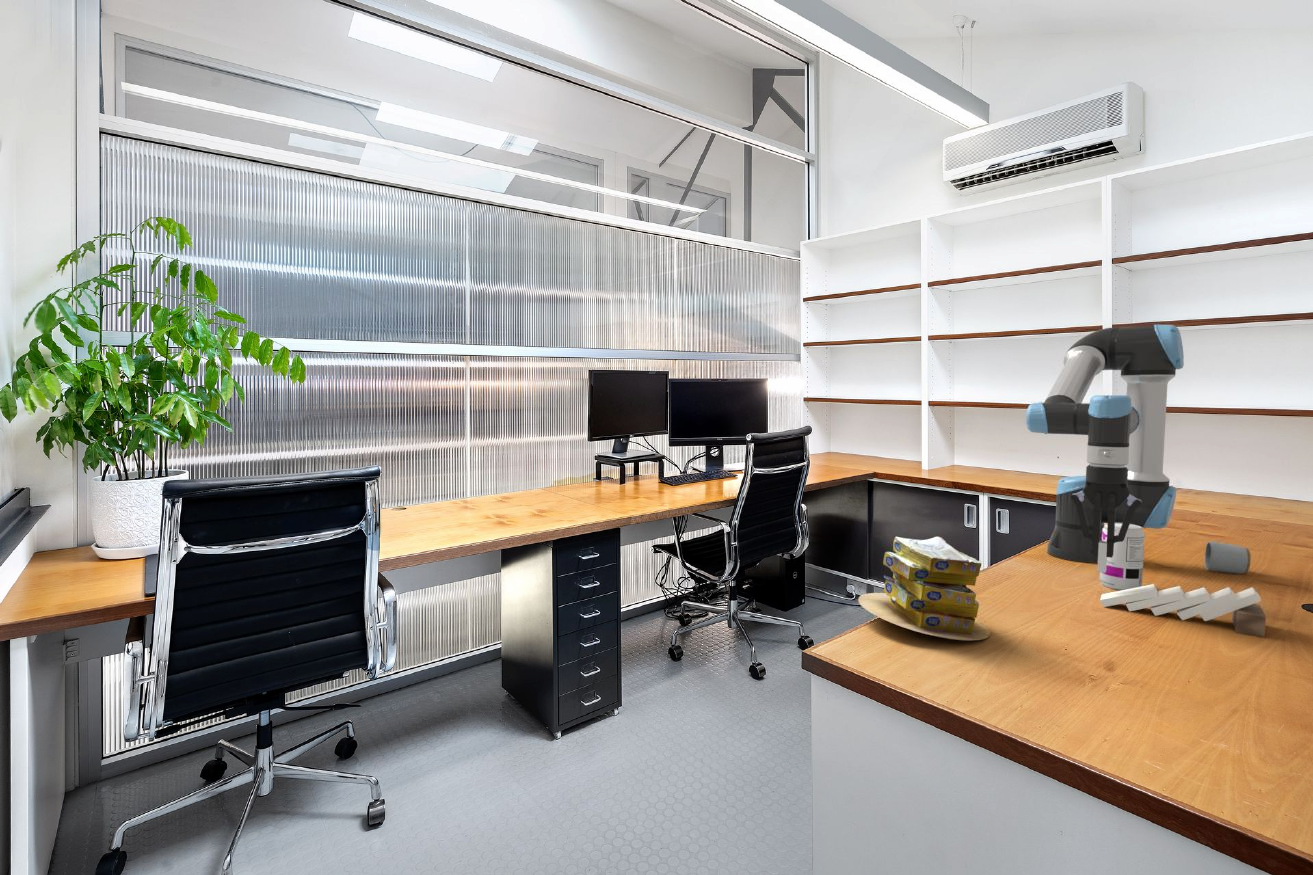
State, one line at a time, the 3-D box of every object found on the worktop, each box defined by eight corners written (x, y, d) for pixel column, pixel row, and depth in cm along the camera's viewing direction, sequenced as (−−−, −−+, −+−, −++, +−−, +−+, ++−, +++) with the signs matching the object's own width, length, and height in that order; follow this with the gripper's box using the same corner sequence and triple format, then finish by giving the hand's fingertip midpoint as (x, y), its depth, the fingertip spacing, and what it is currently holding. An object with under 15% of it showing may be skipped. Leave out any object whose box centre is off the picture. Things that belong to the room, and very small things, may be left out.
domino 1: (1100, 599, 139) (1153, 589, 133) (1101, 594, 143) (1154, 583, 137) (1103, 606, 139) (1157, 596, 133) (1105, 601, 143) (1157, 591, 137)
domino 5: (1199, 614, 129) (1255, 593, 124) (1198, 607, 133) (1252, 587, 128) (1205, 621, 129) (1261, 600, 123) (1203, 614, 132) (1258, 594, 127)
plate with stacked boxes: (963, 605, 140) (965, 531, 139) (1012, 650, 116) (1015, 560, 114) (848, 601, 143) (850, 528, 142) (872, 644, 119) (874, 556, 118)
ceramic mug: (1251, 577, 161) (1253, 547, 161) (1209, 573, 165) (1211, 543, 165) (1239, 568, 170) (1241, 540, 170) (1200, 564, 174) (1201, 536, 174)
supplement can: (1102, 588, 152) (1105, 527, 151) (1097, 579, 159) (1100, 520, 158) (1144, 593, 148) (1148, 530, 147) (1137, 584, 156) (1140, 524, 154)
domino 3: (1150, 608, 134) (1205, 593, 128) (1150, 602, 138) (1204, 587, 132) (1155, 615, 133) (1210, 600, 128) (1155, 609, 137) (1209, 594, 132)
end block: (1236, 632, 124) (1237, 612, 124) (1232, 619, 131) (1233, 600, 131) (1264, 637, 122) (1265, 616, 121) (1258, 623, 129) (1260, 604, 128)
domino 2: (1125, 604, 137) (1180, 591, 131) (1126, 598, 140) (1179, 585, 135) (1129, 611, 136) (1184, 599, 130) (1130, 605, 140) (1183, 592, 134)
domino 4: (1176, 613, 131) (1230, 592, 126) (1176, 606, 135) (1228, 586, 130) (1182, 620, 131) (1236, 600, 125) (1182, 613, 135) (1234, 593, 129)
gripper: (1069, 464, 140) (1065, 569, 142) (1144, 469, 132) (1138, 579, 134) (1073, 461, 146) (1068, 562, 148) (1144, 465, 138) (1139, 572, 140)
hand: (1101, 570), depth 141 cm, fingers closed
